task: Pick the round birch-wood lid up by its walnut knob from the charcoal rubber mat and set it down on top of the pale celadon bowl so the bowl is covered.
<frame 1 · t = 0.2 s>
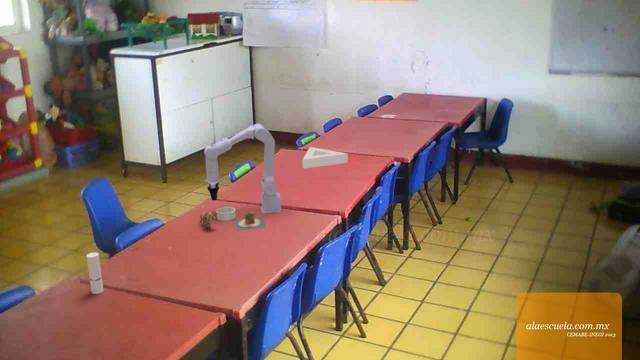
hand: (214, 197, 316), 10 cm above the table, tool pointing down, fingers open, 7 cm apart
triangle block: (327, 163, 407), on the table
mat: (249, 224, 308), on the table
lid: (249, 223, 308), resting on mat
bowl: (226, 217, 317), on the table
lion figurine: (207, 227, 306), on the table
tube: (97, 291, 246), on the table
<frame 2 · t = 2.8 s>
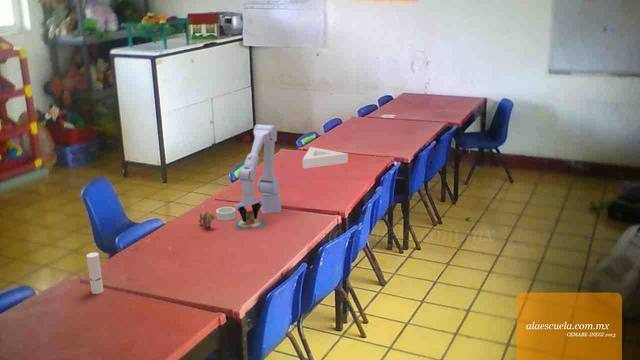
hand: (249, 220, 308), 2 cm above the table, tool pointing down, fingers closed on lid, 5 cm apart
lid: (249, 223, 308), resting on mat, touching gripper
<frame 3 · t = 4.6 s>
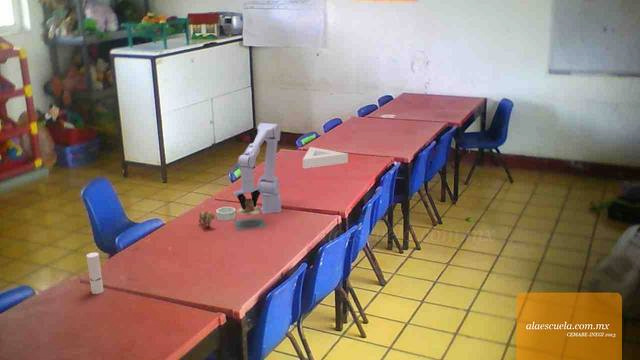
hand: (249, 207, 306), 9 cm above the table, tool pointing down, fingers closed on lid, 5 cm apart
lid: (249, 211, 306), point 7 cm above the table, touching gripper
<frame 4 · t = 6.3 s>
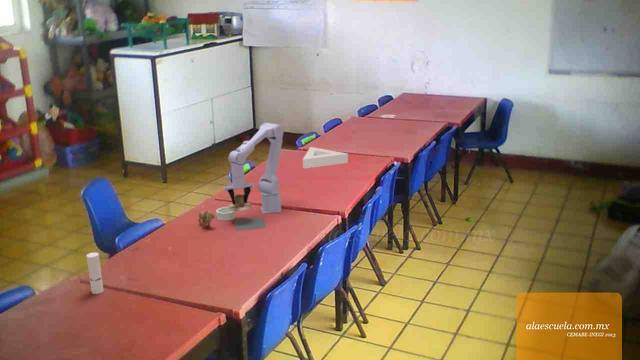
hand: (239, 203, 309), 9 cm above the table, tool pointing down, fingers closed on lid, 5 cm apart
lid: (240, 207, 309), point 8 cm above the table, touching gripper
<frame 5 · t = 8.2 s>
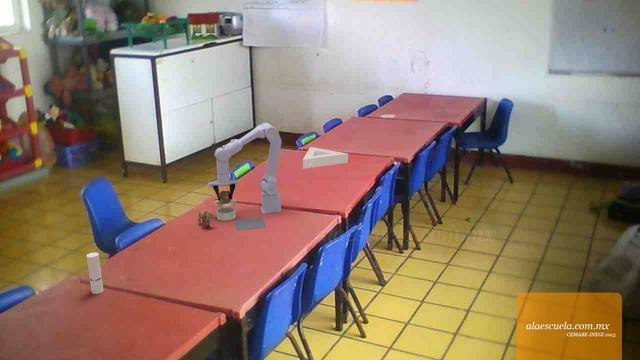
hand: (225, 199, 314), 9 cm above the table, tool pointing down, fingers closed on lid, 5 cm apart
lid: (225, 203, 315), point 8 cm above the table, touching gripper
when the fingers open (7 cm above the table, at t = 9.7 s): lid drops 1 cm, resting on bowl.
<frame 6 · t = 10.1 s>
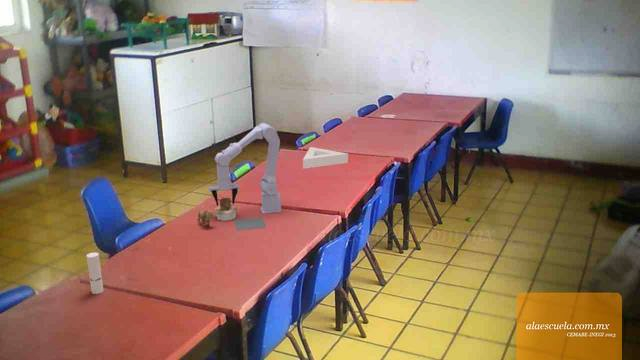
hand: (225, 204, 315), 7 cm above the table, tool pointing down, fingers open, 7 cm apart
lid: (225, 210, 316), point 4 cm above the table, touching bowl
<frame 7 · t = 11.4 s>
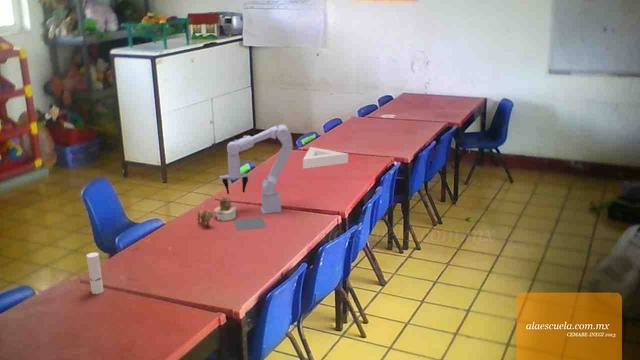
hand: (235, 192, 321), 10 cm above the table, tool pointing down, fingers open, 7 cm apart
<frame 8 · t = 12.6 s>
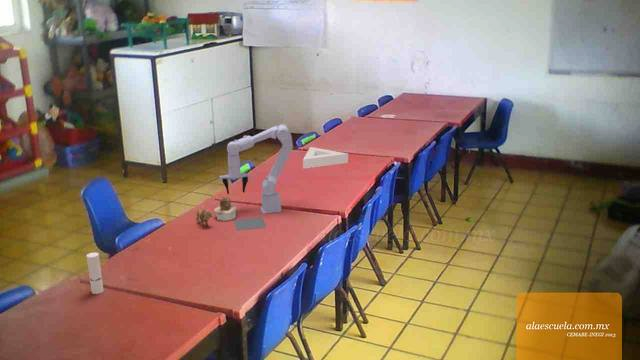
hand: (235, 192, 321), 10 cm above the table, tool pointing down, fingers open, 7 cm apart
at the end: lid 0.0 cm off-centre on the bowl, point 4.0 cm above the bowl's base; lid tilted 0°; the gripper is holding nothing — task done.
